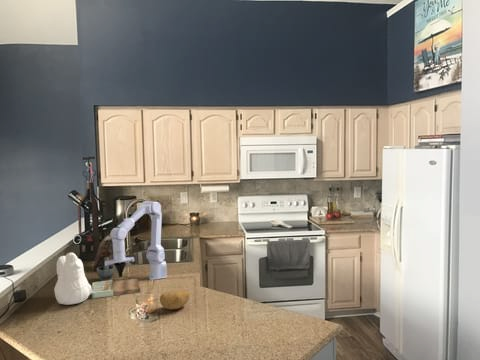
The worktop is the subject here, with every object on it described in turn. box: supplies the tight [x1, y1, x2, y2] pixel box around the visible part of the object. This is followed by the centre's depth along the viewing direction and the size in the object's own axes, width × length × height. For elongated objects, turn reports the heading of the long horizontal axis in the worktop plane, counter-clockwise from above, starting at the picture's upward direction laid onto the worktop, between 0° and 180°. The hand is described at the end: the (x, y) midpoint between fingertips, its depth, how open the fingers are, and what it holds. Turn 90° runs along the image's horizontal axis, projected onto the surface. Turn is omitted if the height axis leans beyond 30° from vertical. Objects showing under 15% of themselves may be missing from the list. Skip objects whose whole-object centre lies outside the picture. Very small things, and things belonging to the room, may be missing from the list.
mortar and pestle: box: [96, 257, 116, 282], centre depth 216 cm, size 11×9×12 cm
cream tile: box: [94, 286, 103, 292], centre depth 196 cm, size 4×4×2 cm
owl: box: [92, 234, 114, 270], centre depth 237 cm, size 13×13×20 cm
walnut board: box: [112, 278, 141, 297], centre depth 201 cm, size 13×17×2 cm
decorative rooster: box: [53, 251, 92, 306], centre depth 186 cm, size 25×16×25 cm, turn 34°
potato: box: [159, 289, 191, 311], centre depth 173 cm, size 10×14×8 cm
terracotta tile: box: [104, 281, 110, 291], centre depth 196 cm, size 4×4×2 cm
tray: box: [91, 279, 115, 300], centre depth 197 cm, size 10×17×3 cm, turn 20°
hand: (120, 276), depth 198 cm, fingers closed
